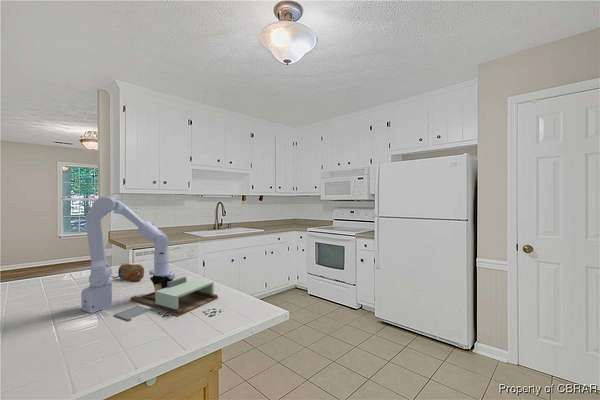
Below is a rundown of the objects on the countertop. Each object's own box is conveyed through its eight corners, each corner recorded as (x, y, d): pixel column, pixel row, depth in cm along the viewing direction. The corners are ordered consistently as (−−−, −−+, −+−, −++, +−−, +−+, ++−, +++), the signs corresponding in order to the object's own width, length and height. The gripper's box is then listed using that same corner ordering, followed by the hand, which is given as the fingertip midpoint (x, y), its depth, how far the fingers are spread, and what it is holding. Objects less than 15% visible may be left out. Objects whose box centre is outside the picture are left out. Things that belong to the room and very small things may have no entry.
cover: (176, 309, 102) (175, 291, 102) (155, 303, 108) (155, 286, 107) (213, 293, 118) (213, 277, 118) (193, 289, 124) (193, 273, 124)
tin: (117, 279, 145) (117, 263, 145) (123, 278, 148) (122, 262, 148) (140, 282, 140) (140, 265, 140) (145, 280, 143) (145, 264, 143)
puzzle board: (177, 316, 100) (177, 312, 100) (129, 301, 115) (129, 298, 115) (218, 298, 118) (218, 294, 118) (171, 287, 132) (171, 284, 132)
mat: (128, 321, 97) (128, 319, 97) (113, 315, 101) (113, 314, 101) (152, 311, 105) (152, 309, 105) (138, 307, 109) (138, 305, 109)
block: (160, 297, 117) (160, 285, 117) (154, 296, 119) (154, 284, 119) (169, 294, 121) (169, 283, 121) (163, 293, 123) (163, 281, 123)
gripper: (180, 261, 120) (181, 292, 120) (159, 258, 127) (159, 287, 127) (166, 265, 114) (166, 298, 114) (144, 261, 120) (145, 292, 121)
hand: (162, 293), depth 120 cm, fingers closed on block, 4 cm apart
